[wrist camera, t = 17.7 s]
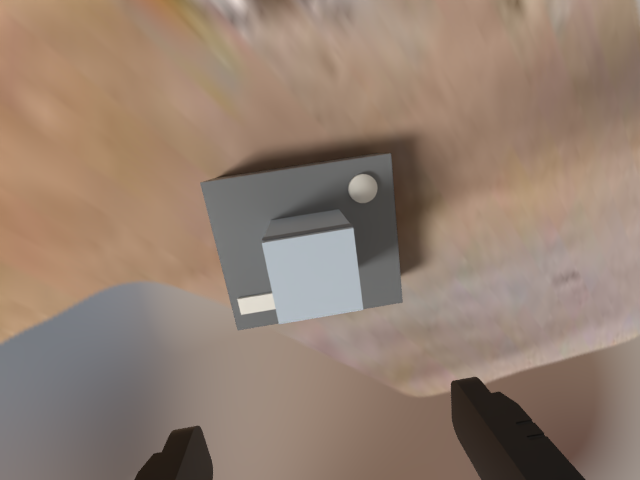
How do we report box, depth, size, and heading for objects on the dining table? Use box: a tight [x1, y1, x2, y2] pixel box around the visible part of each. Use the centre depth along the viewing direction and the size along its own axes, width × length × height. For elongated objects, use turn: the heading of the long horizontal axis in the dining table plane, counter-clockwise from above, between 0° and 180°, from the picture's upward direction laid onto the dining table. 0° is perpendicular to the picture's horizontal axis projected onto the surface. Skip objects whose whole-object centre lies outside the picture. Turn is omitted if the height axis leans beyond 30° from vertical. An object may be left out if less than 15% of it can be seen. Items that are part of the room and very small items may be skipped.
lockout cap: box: [262, 209, 363, 324], centre depth 24 cm, size 6×6×7 cm
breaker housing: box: [200, 153, 402, 330], centre depth 29 cm, size 16×14×6 cm
